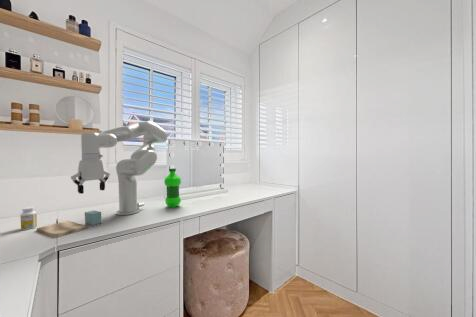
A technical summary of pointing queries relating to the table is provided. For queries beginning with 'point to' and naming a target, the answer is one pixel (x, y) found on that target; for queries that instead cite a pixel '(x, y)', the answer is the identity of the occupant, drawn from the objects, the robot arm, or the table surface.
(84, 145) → the robot arm
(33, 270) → the table surface
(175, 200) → the plastic bottle
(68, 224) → the board
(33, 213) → the supplement bottle
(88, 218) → the block
